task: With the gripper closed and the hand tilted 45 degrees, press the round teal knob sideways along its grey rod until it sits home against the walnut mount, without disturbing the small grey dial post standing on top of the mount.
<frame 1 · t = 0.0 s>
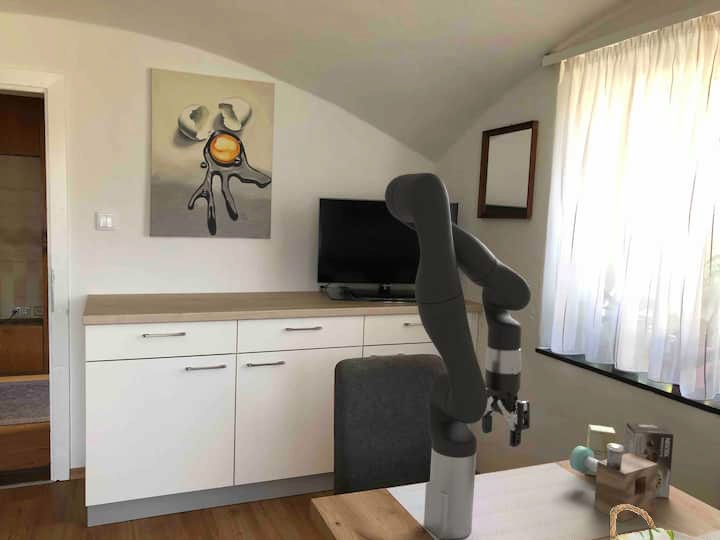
hand: (500, 438, 128), 17 cm above the table, tool pointing down, fingers open, 8 cm apart
dial post: (613, 466, 131), point 11 cm above the table, touching mount
coffee box: (644, 491, 144), on the table
mount: (623, 508, 134), on the table
knob: (601, 468, 139), point 7 cm above the table, slide at 0.0 cm
skincare box: (597, 473, 153), on the table
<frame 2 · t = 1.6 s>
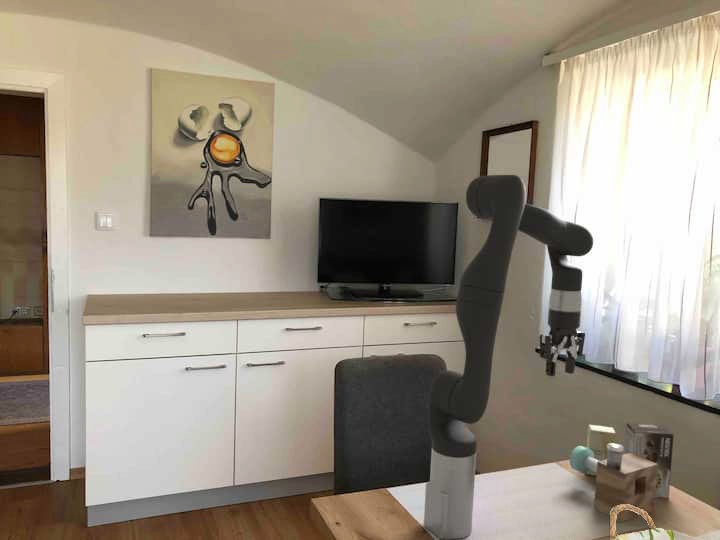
hand: (560, 374, 145), 28 cm above the table, tool pointing down, fingers open, 6 cm apart
nothing on the table moved.
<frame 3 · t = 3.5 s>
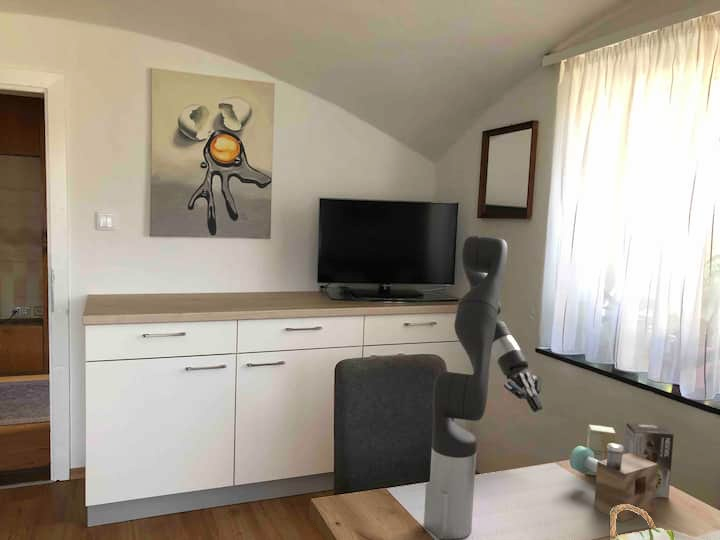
hand: (538, 410, 156), 15 cm above the table, tool tilted 45°, fingers closed
nothing on the table moved.
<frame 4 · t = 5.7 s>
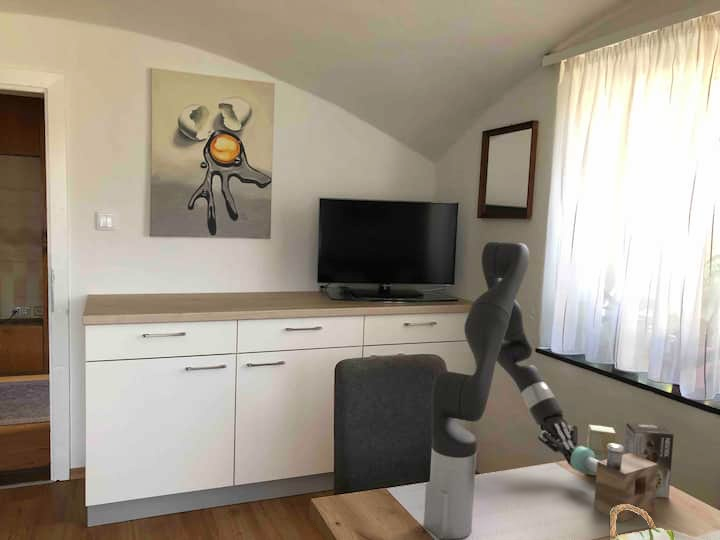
hand: (575, 465, 146), 5 cm above the table, tool tilted 45°, fingers closed
knob: (601, 468, 139), point 7 cm above the table, slide at 0.2 cm, touching gripper
everything else where it was.
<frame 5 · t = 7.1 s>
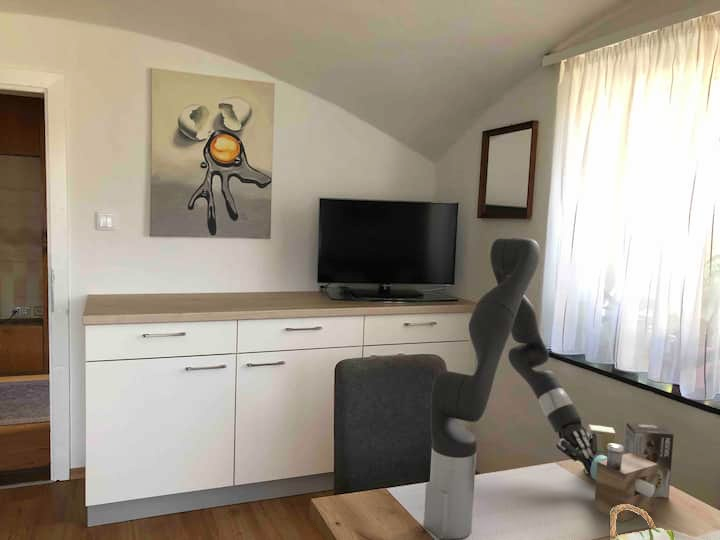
hand: (595, 474, 141), 5 cm above the table, tool tilted 45°, fingers closed
knob: (623, 478, 134), point 7 cm above the table, slide at 6.1 cm, touching gripper
everything else where it was.
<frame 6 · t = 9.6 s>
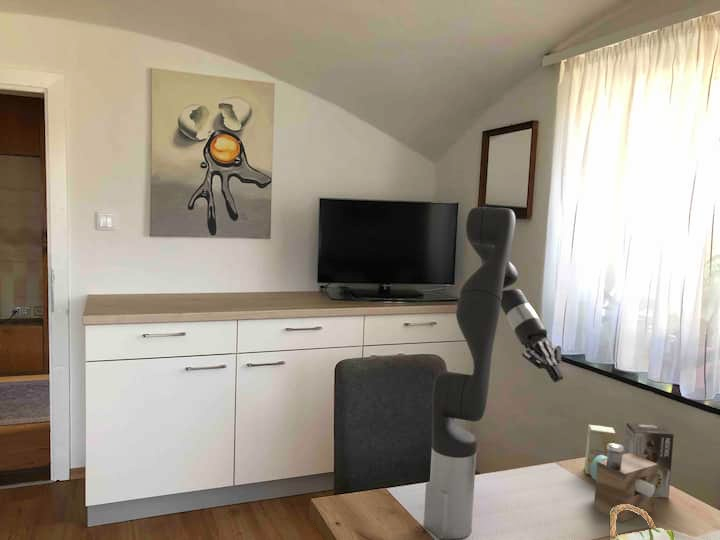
hand: (559, 380, 148), 25 cm above the table, tool tilted 45°, fingers closed
knob: (623, 478, 134), point 7 cm above the table, slide at 6.1 cm
everything else where it was.
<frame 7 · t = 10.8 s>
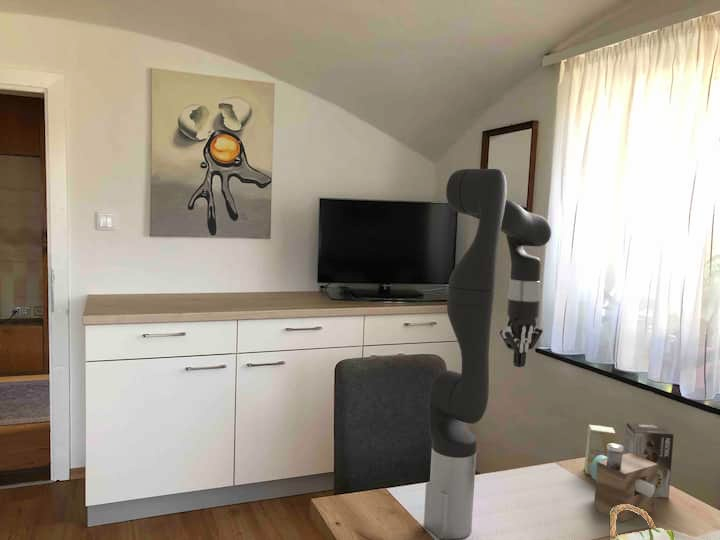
hand: (519, 366, 146), 29 cm above the table, tool pointing down, fingers closed
nothing on the table moved.
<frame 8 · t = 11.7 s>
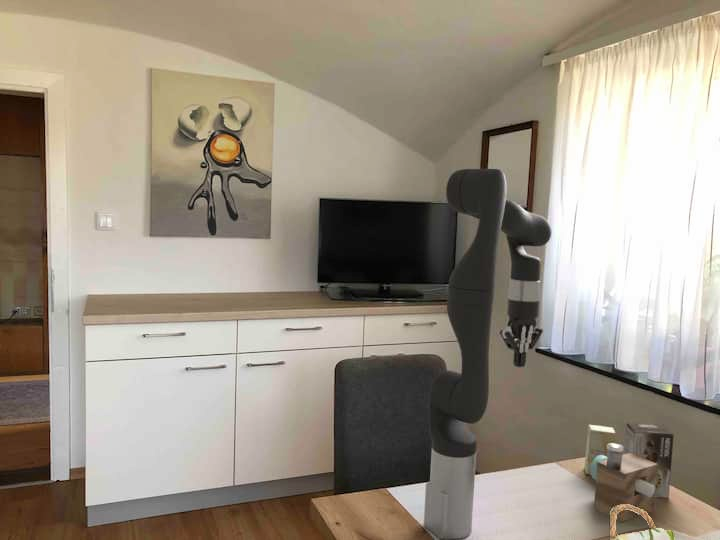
hand: (519, 366, 146), 29 cm above the table, tool pointing down, fingers closed
nothing on the table moved.
at the end: knob slide at 6.1 cm; dial post tilted 0° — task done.
